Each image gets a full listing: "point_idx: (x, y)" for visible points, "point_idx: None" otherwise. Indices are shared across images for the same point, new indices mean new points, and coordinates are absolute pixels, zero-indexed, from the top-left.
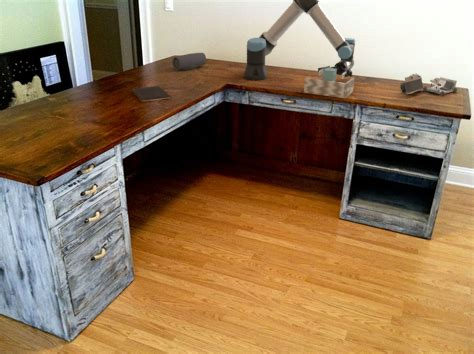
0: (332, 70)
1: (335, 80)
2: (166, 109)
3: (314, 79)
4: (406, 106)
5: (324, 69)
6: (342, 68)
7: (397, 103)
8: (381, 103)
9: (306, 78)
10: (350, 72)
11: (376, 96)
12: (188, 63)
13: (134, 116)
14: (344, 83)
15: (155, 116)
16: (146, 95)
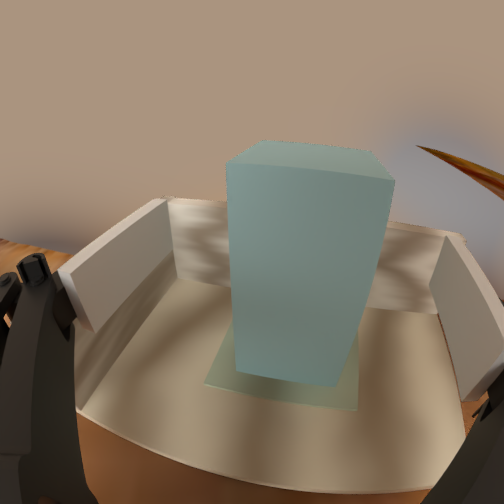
0: (276, 143)
1: (232, 301)
2: (496, 192)
3: (401, 224)
4: (8, 246)
5: (365, 153)
6: (10, 468)
7: (7, 260)
8: (51, 253)
9: (453, 232)
10: (17, 278)
11: (7, 319)
12: None
13: (489, 182)
14: (176, 198)
15: (479, 181)
16: None
